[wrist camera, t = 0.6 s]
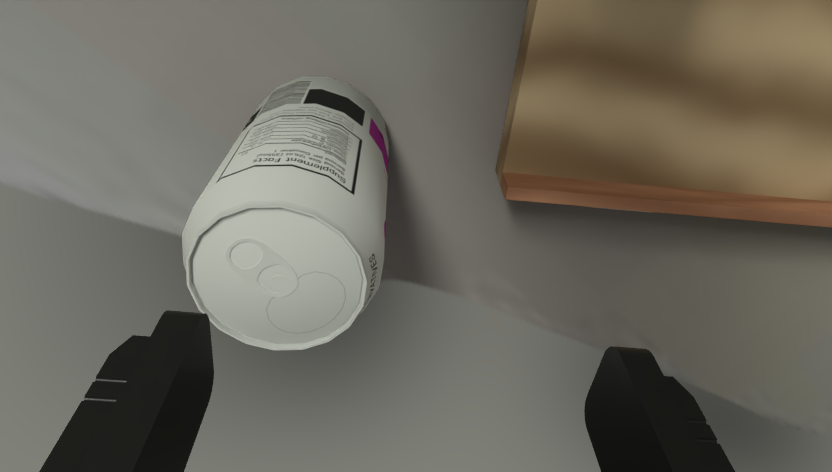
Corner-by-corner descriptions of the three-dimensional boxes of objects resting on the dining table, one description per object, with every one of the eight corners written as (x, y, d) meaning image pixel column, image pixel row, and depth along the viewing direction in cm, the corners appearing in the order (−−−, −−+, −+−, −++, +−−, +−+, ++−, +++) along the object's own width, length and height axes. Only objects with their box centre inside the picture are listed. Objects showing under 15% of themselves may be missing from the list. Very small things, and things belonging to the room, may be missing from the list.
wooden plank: (544, -80, 29) (563, -75, 26) (1076, -13, 32) (1158, -2, 28) (494, 173, 37) (504, 202, 33) (930, 211, 39) (981, 243, 35)
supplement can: (416, 144, 36) (425, 290, 23) (321, 221, 38) (282, 389, 25) (322, 42, 32) (270, 144, 19) (226, 133, 35) (125, 277, 22)
